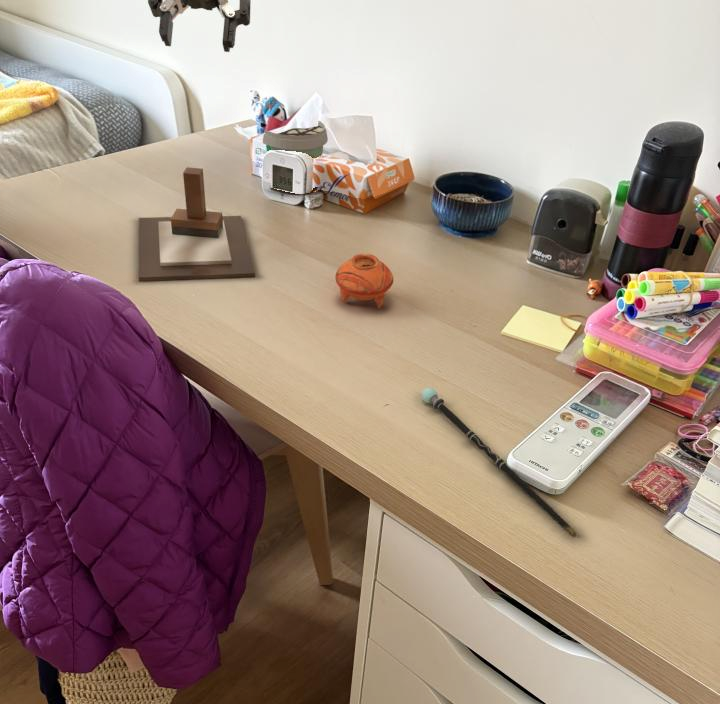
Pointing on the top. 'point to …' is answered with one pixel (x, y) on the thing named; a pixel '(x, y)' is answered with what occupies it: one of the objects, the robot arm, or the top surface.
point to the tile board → (192, 252)
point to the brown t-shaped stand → (196, 210)
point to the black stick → (490, 454)
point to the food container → (298, 143)
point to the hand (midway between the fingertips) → (196, 45)
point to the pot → (364, 278)
